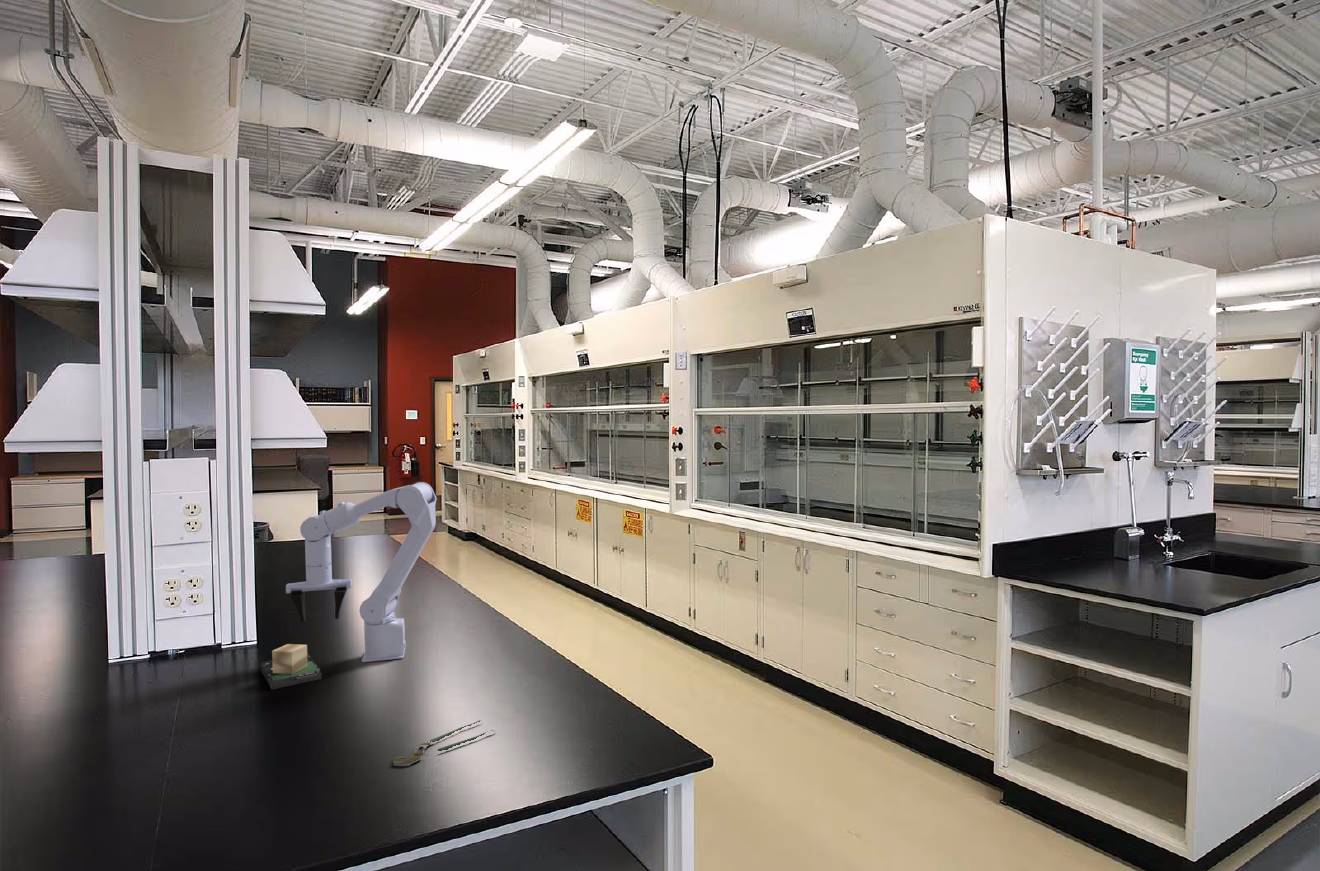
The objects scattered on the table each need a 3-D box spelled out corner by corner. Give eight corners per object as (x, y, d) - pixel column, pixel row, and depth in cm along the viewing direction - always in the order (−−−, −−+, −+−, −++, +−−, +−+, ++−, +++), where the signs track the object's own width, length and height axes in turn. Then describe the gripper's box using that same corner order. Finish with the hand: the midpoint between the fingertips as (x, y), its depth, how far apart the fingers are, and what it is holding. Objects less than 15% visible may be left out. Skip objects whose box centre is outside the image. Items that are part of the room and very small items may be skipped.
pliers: (481, 725, 139) (481, 718, 139) (500, 734, 134) (500, 727, 134) (383, 761, 125) (382, 753, 125) (400, 773, 120) (400, 765, 120)
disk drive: (260, 674, 168) (271, 692, 157) (259, 662, 168) (271, 680, 156) (308, 664, 175) (322, 681, 163) (307, 652, 175) (322, 668, 163)
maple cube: (307, 666, 165) (306, 644, 165) (292, 674, 160) (291, 652, 160) (288, 665, 166) (287, 643, 166) (272, 672, 161) (272, 650, 161)
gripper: (352, 559, 182) (354, 612, 183) (289, 563, 178) (291, 617, 179) (349, 564, 175) (350, 619, 176) (283, 569, 171) (285, 625, 172)
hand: (320, 619), depth 177 cm, fingers open, 7 cm apart
